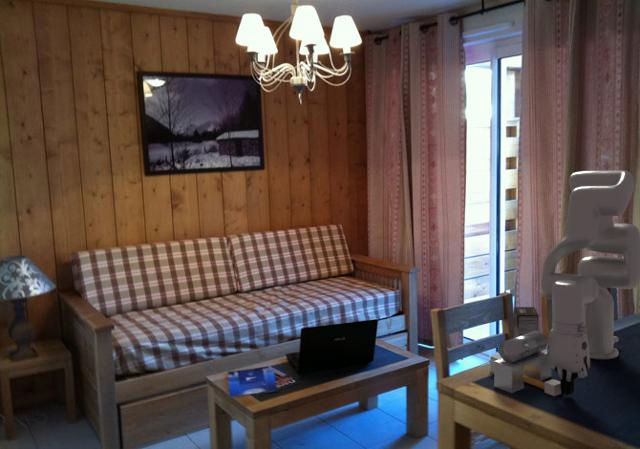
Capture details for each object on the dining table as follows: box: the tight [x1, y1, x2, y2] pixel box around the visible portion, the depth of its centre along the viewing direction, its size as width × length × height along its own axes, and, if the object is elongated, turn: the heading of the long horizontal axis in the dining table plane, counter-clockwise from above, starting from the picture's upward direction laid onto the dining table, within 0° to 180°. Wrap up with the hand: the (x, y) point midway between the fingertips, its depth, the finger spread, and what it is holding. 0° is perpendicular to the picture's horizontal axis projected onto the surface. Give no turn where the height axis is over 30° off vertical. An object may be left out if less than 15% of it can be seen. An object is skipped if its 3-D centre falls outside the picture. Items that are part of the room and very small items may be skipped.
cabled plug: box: [488, 352, 562, 397], centre depth 163 cm, size 4×24×5 cm, turn 30°
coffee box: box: [513, 306, 539, 338], centre depth 179 cm, size 9×6×16 cm
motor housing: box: [493, 330, 552, 394], centre depth 162 cm, size 18×6×14 cm, turn 124°
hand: (567, 393), depth 152 cm, fingers closed
